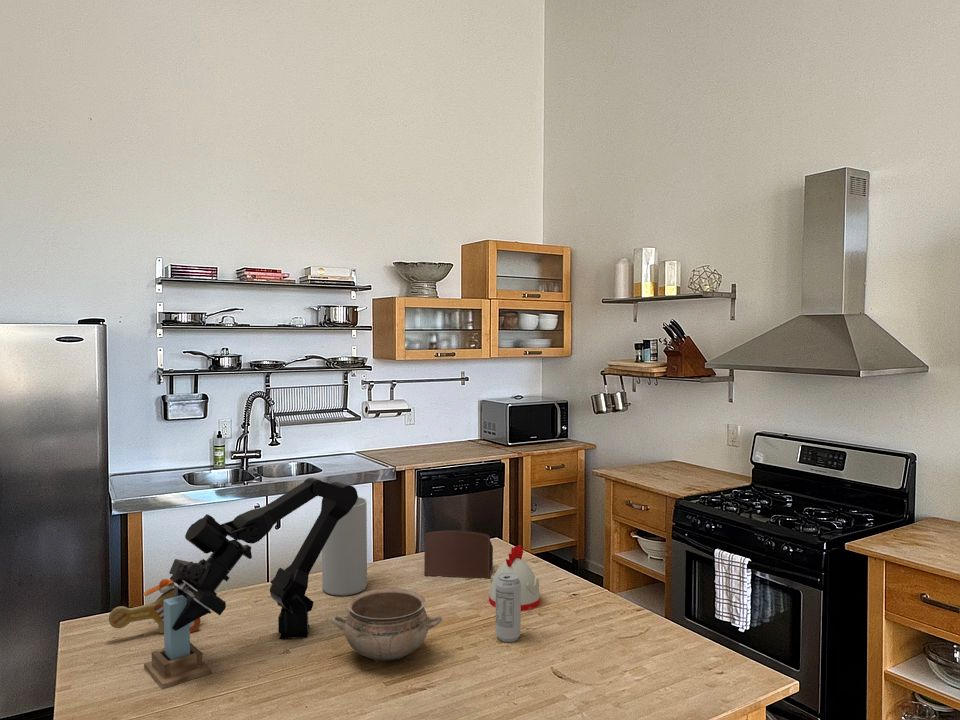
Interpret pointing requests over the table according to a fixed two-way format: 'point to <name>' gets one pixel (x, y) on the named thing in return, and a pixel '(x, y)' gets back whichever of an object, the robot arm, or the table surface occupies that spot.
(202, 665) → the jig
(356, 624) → the cooking pot
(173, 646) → the pale blue tower
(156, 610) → the toy helicopter
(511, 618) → the energy drink can
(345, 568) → the cylinder vase
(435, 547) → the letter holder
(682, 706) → the table surface
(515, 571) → the kitchen timer
